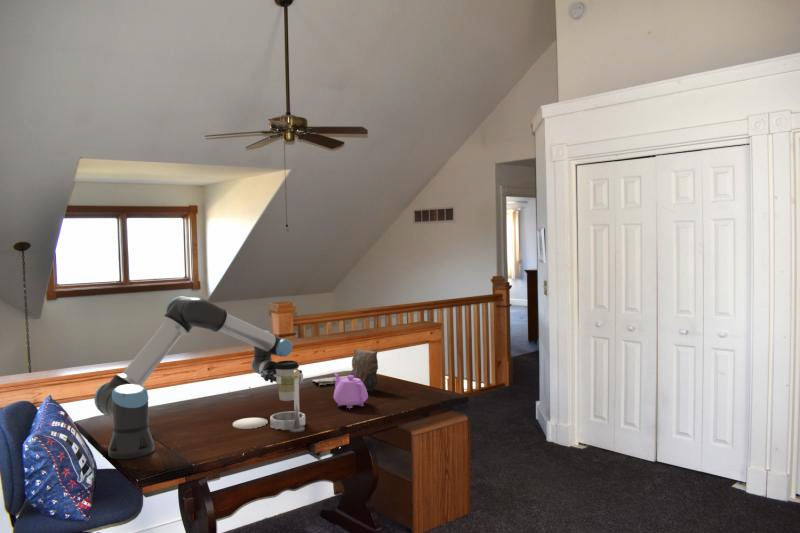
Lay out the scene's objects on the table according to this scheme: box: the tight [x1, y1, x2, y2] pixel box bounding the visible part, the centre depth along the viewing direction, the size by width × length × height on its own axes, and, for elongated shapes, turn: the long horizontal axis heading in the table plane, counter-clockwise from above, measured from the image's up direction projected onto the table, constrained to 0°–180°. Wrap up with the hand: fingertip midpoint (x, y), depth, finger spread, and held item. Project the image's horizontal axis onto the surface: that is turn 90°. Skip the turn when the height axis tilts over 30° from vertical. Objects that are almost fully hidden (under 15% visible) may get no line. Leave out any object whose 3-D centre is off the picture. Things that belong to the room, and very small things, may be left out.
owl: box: [350, 349, 379, 392], centre depth 311 cm, size 13×13×20 cm
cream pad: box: [232, 417, 269, 430], centre depth 254 cm, size 14×14×1 cm
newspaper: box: [311, 375, 348, 387], centre depth 331 cm, size 35×12×4 cm, turn 121°
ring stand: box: [269, 370, 306, 434], centre depth 249 cm, size 19×14×24 cm
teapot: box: [333, 372, 369, 410], centre depth 282 cm, size 22×16×14 cm
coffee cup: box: [275, 360, 300, 402], centre depth 252 cm, size 10×10×15 cm
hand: (291, 379), depth 248 cm, fingers closed on coffee cup, 9 cm apart
